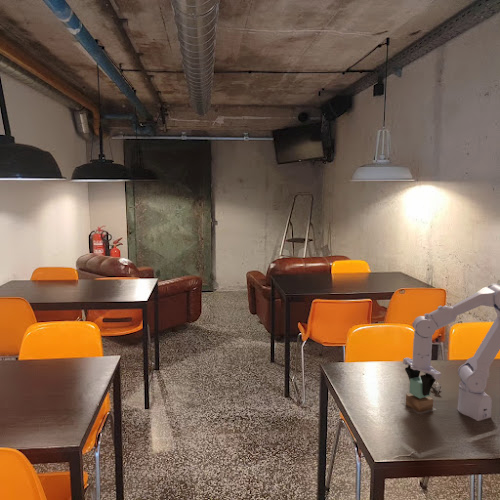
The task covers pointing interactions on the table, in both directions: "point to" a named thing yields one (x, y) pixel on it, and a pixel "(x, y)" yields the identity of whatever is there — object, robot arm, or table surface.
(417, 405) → the walnut base block
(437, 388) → the soldier figure
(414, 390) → the teal block
